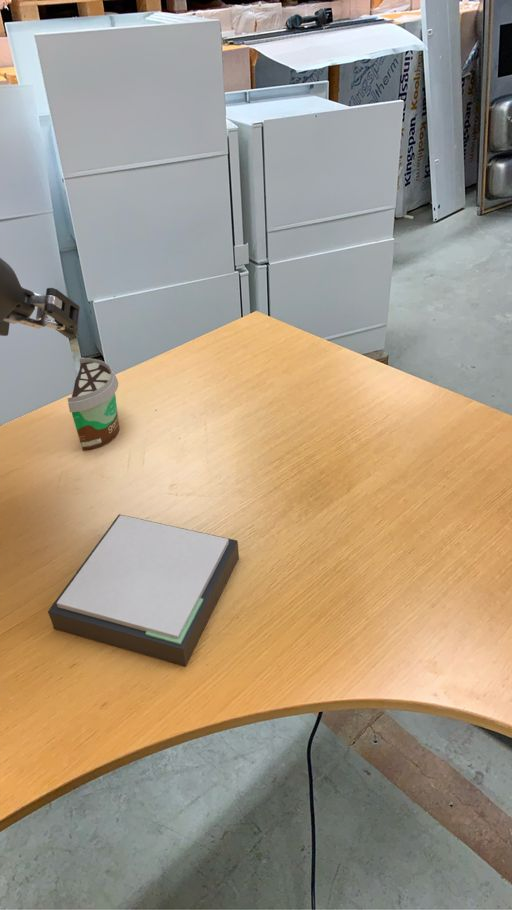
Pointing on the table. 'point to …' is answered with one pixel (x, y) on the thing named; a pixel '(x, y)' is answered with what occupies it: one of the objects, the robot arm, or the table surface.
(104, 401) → the food container
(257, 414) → the table surface
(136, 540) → the scale
